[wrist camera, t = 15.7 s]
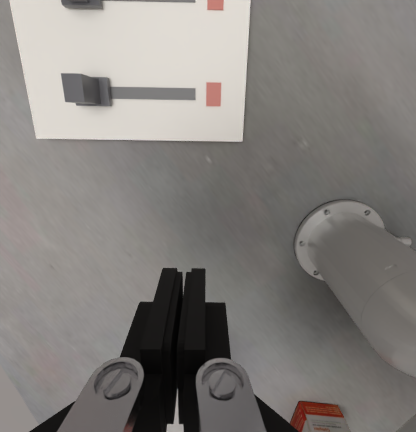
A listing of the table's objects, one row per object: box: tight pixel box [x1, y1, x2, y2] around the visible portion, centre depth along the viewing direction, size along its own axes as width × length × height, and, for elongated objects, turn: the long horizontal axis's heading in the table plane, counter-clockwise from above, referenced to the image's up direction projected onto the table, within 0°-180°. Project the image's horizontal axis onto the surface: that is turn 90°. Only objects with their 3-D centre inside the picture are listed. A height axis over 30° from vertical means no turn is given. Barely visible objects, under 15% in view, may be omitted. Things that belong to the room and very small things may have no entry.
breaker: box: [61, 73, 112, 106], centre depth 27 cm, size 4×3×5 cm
